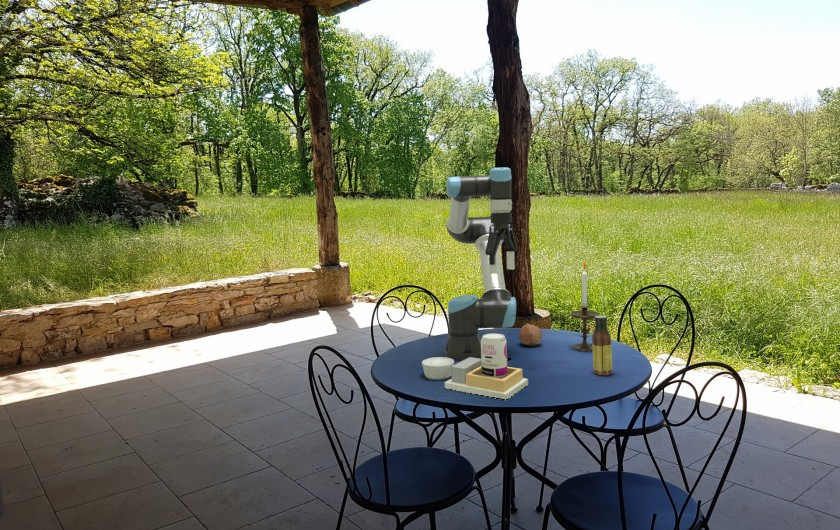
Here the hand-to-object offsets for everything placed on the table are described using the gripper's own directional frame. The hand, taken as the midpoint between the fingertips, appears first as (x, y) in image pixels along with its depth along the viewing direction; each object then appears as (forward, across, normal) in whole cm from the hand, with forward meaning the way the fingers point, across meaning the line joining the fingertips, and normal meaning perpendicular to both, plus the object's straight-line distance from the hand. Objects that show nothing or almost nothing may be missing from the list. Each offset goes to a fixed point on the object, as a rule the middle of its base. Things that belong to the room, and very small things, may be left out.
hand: (502, 271), depth 193 cm
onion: (+35, +30, +3) cm, 46 cm away
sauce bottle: (+35, +8, -33) cm, 49 cm away
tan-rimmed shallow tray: (+35, -23, -5) cm, 42 cm away
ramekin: (+35, -21, +15) cm, 44 cm away
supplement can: (+33, -23, -8) cm, 41 cm away
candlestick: (+35, +35, -18) cm, 53 cm away
